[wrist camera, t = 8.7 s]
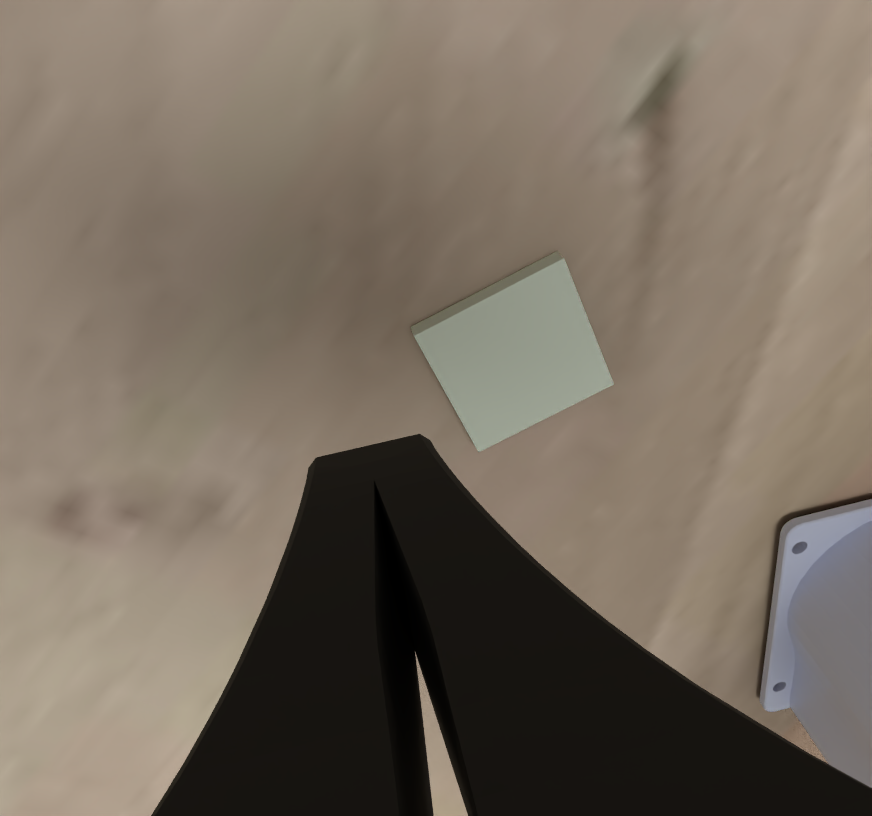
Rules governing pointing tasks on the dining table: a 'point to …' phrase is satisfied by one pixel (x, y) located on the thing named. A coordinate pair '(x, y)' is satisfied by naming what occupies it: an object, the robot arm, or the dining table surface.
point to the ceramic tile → (515, 352)
